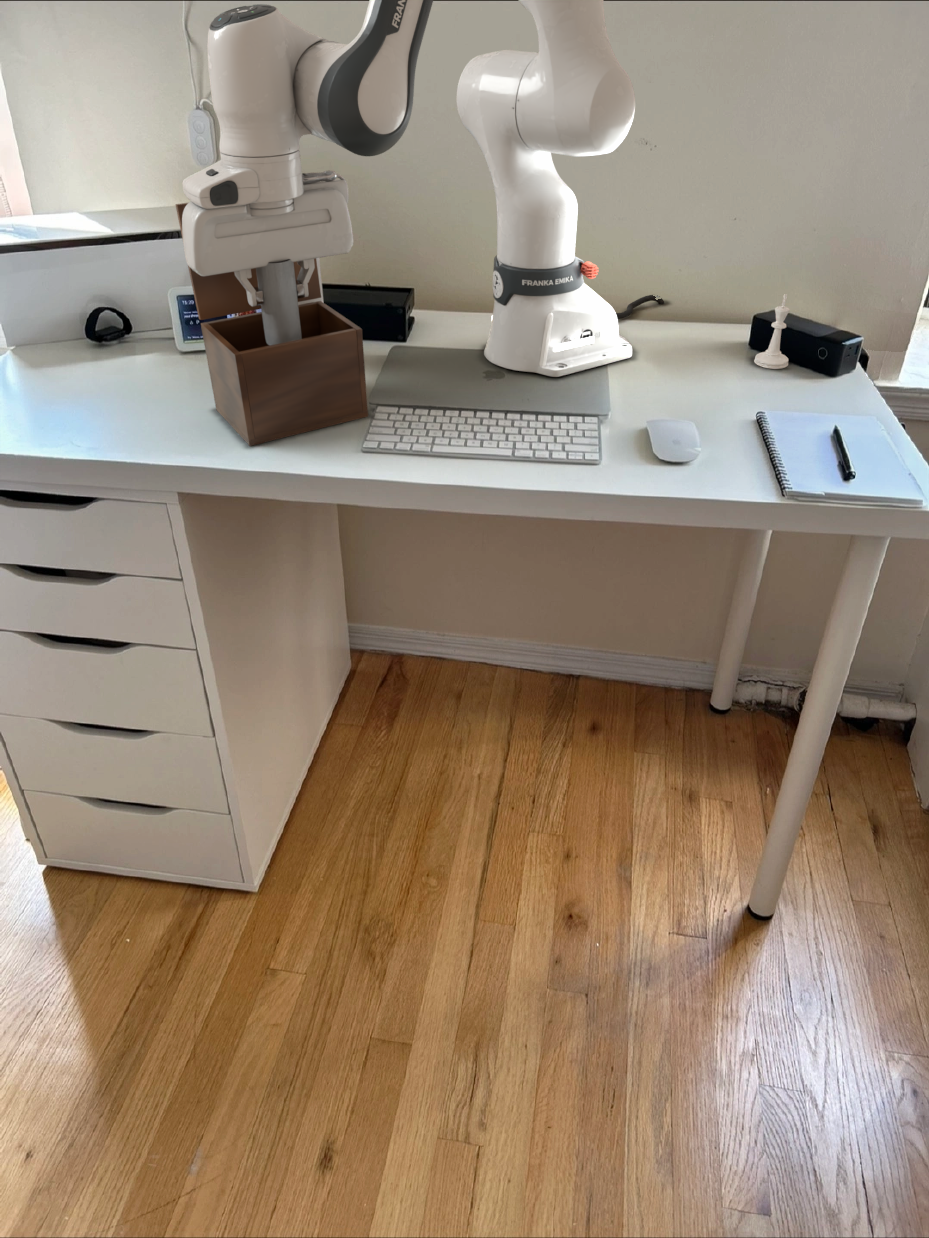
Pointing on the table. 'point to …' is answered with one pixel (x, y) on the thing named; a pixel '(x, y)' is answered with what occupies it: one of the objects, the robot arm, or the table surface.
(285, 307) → the gray cylinder
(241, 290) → the box lid
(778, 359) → the chess piece
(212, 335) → the storage box
